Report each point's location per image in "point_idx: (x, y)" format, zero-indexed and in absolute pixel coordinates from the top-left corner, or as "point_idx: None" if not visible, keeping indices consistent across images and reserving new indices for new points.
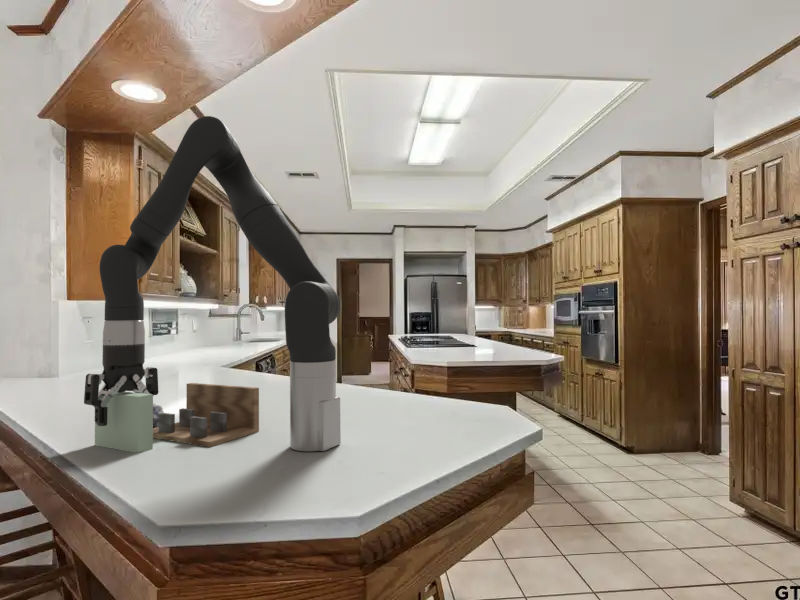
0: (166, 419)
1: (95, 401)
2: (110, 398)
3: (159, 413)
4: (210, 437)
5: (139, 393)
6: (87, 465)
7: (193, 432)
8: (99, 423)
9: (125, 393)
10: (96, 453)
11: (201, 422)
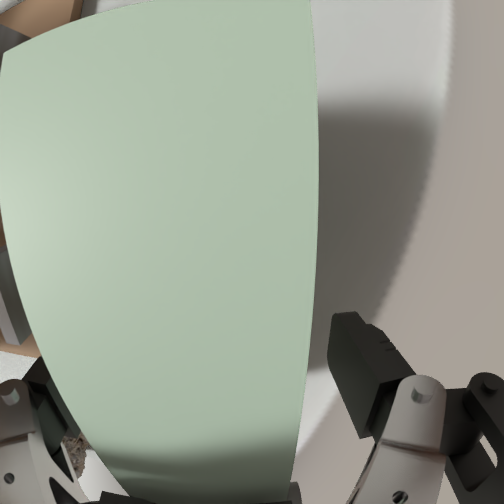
0: (14, 280)
1: (493, 387)
2: (386, 437)
3: (17, 343)
4: (31, 31)
5: (70, 379)
6: (419, 160)
7: None
8: (370, 329)
9: (196, 493)
10: (321, 279)
11: (2, 37)
